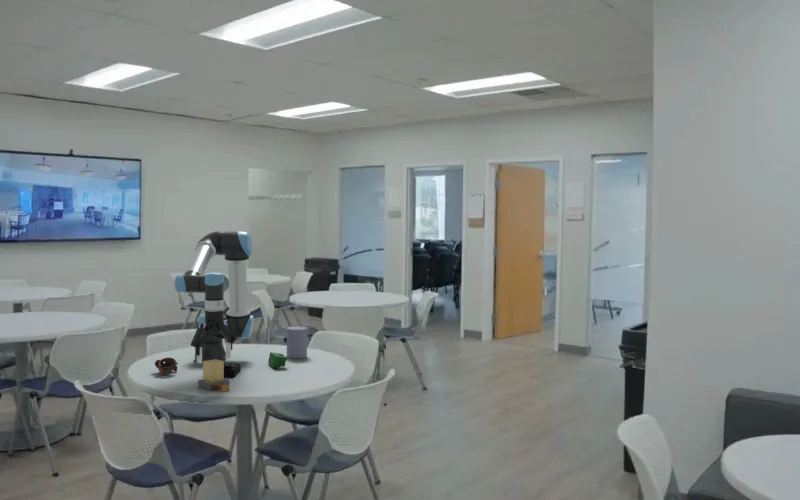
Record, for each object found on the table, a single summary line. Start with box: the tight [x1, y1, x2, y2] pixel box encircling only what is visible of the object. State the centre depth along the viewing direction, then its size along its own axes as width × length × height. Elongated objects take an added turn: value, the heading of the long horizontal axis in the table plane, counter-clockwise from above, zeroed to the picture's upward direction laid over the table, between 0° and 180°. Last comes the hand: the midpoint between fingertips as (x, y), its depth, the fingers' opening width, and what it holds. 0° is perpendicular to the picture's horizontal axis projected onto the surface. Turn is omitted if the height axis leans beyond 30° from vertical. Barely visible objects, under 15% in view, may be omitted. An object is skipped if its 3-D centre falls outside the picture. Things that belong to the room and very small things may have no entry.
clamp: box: [267, 351, 288, 369], centre depth 307 cm, size 12×6×9 cm, turn 21°
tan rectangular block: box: [202, 359, 225, 383], centre depth 266 cm, size 6×6×8 cm
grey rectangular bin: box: [197, 378, 230, 393], centre depth 265 cm, size 14×9×6 cm, turn 48°
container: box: [286, 326, 308, 360], centre depth 329 cm, size 10×10×15 cm
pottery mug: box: [154, 357, 179, 377], centre depth 287 cm, size 12×9×8 cm
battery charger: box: [224, 363, 242, 379], centre depth 289 cm, size 13×10×4 cm
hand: (214, 360), depth 266 cm, fingers open, 13 cm apart
